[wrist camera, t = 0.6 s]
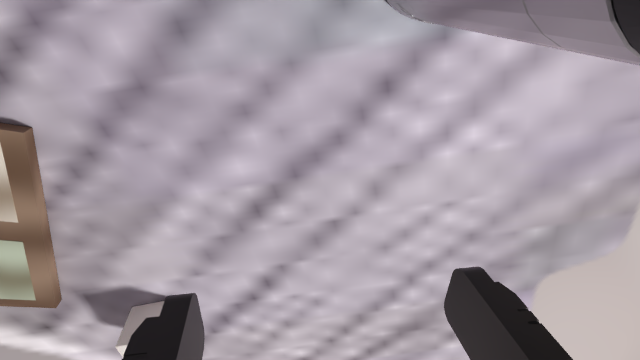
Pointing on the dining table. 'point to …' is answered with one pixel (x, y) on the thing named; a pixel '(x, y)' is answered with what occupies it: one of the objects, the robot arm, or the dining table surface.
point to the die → (137, 322)
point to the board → (24, 225)
